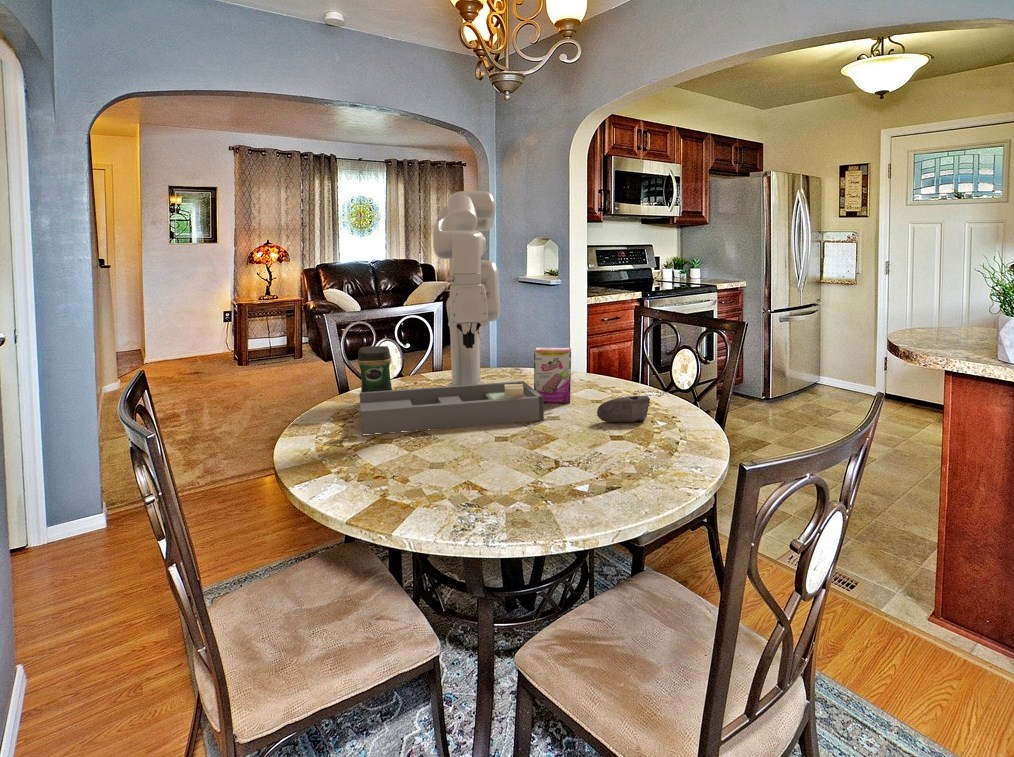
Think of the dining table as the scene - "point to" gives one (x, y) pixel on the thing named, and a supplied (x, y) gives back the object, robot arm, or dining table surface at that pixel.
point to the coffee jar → (375, 368)
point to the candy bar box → (553, 374)
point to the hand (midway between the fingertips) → (468, 347)
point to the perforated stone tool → (624, 409)
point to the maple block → (513, 391)
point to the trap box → (447, 407)
